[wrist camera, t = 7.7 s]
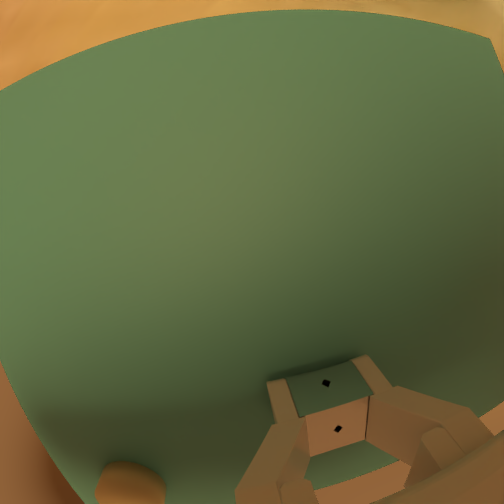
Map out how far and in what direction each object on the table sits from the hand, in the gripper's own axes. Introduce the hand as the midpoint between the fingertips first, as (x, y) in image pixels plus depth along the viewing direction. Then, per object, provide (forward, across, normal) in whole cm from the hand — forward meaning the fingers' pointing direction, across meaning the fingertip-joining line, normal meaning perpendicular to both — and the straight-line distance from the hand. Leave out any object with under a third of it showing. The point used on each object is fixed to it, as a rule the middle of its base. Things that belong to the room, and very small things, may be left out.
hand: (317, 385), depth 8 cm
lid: (+2, 0, -3) cm, 3 cm away
